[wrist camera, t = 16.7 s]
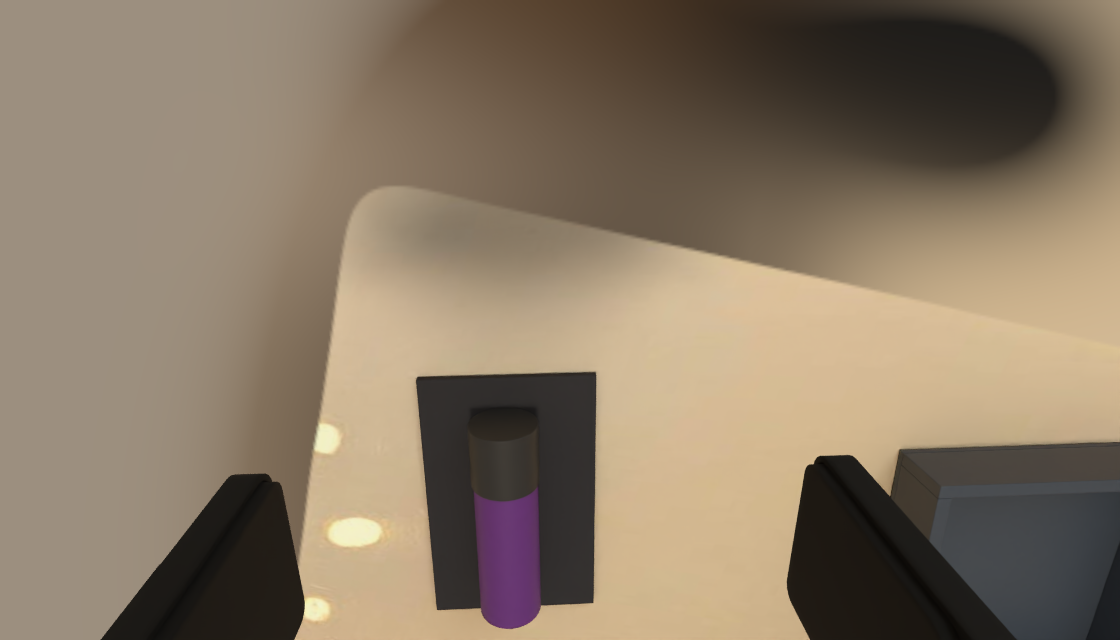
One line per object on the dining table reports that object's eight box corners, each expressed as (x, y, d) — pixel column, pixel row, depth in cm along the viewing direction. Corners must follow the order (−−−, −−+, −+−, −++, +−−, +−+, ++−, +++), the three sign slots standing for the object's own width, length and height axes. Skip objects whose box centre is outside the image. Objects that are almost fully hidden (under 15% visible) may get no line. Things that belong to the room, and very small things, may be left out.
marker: (484, 582, 38) (473, 631, 35) (474, 406, 34) (460, 441, 31) (544, 584, 38) (539, 633, 34) (541, 407, 34) (535, 442, 30)
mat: (417, 376, 34) (415, 379, 33) (595, 372, 34) (596, 375, 34) (437, 605, 39) (436, 610, 38) (592, 598, 39) (593, 603, 39)
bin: (899, 449, 37) (941, 486, 33) (1158, 440, 38) (1227, 475, 34) (859, 659, 42) (890, 711, 38) (1086, 647, 43) (1139, 697, 39)
